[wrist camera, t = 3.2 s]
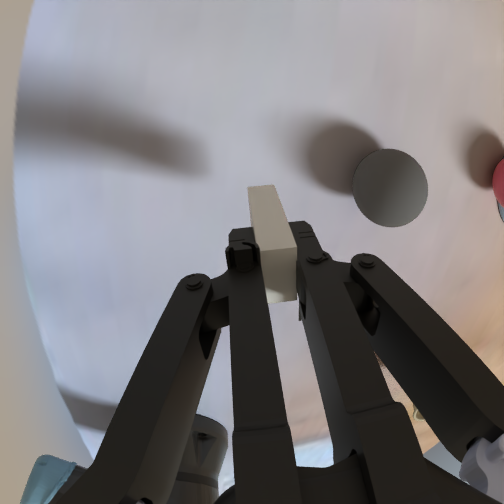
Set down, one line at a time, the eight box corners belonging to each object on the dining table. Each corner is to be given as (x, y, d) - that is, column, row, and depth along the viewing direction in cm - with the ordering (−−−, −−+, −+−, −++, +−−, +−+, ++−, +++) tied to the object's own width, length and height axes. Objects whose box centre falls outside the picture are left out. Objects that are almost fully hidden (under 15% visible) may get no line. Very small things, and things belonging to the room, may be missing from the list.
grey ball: (340, 209, 24) (367, 246, 19) (342, 141, 21) (374, 163, 16) (400, 204, 24) (435, 237, 19) (406, 140, 21) (448, 162, 16)
